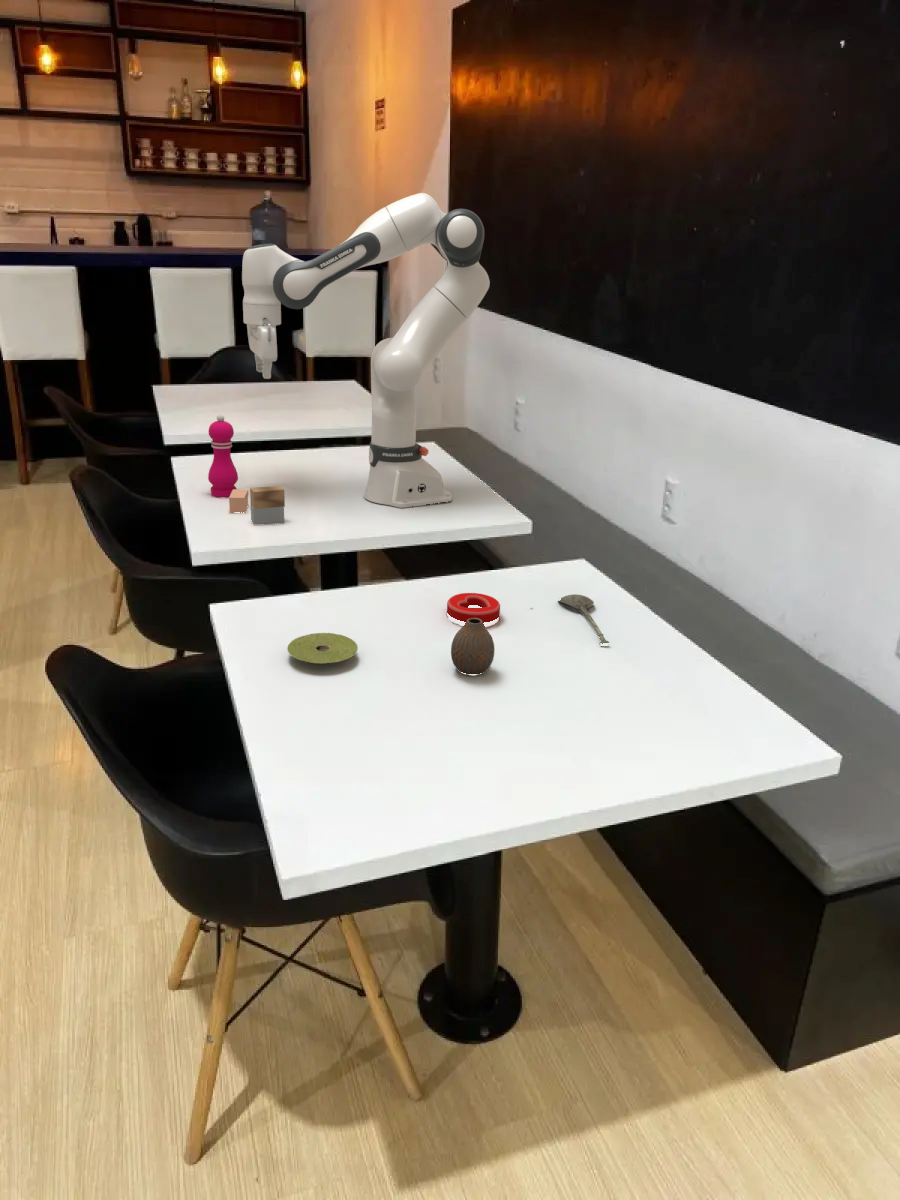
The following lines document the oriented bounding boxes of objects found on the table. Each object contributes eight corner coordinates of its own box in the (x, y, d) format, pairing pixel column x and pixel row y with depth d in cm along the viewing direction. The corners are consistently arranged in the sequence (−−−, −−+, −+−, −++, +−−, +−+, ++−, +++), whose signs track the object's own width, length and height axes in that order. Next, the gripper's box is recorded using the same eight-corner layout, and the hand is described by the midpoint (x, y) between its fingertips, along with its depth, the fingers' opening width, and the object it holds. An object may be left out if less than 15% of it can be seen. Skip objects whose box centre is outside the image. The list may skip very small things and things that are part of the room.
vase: (443, 663, 149) (446, 614, 145) (482, 658, 151) (486, 610, 148) (459, 682, 143) (462, 631, 139) (499, 677, 145) (503, 627, 142)
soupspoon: (586, 603, 179) (554, 605, 178) (587, 587, 178) (554, 588, 177) (622, 648, 158) (585, 650, 158) (623, 630, 157) (586, 632, 156)
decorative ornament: (497, 631, 162) (498, 615, 161) (443, 626, 163) (444, 609, 162) (500, 610, 171) (502, 594, 170) (449, 605, 172) (450, 589, 171)
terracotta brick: (233, 505, 222) (232, 489, 221) (248, 505, 223) (247, 489, 221) (229, 513, 216) (229, 497, 214) (244, 514, 216) (244, 497, 215)
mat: (371, 654, 150) (371, 643, 149) (329, 680, 141) (329, 669, 140) (316, 637, 155) (316, 626, 155) (273, 661, 146) (272, 650, 145)
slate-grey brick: (281, 519, 214) (280, 502, 213) (284, 523, 211) (284, 507, 210) (251, 521, 212) (250, 504, 210) (253, 525, 209) (253, 508, 207)
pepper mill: (234, 499, 226) (231, 418, 219) (205, 497, 226) (201, 416, 219) (241, 491, 233) (238, 412, 225) (213, 489, 233) (209, 411, 225)
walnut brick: (280, 502, 213) (280, 485, 211) (284, 506, 210) (284, 489, 208) (250, 504, 210) (250, 487, 208) (254, 509, 207) (254, 491, 205)
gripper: (283, 321, 211) (284, 382, 216) (268, 312, 228) (269, 368, 234) (255, 320, 208) (257, 382, 214) (242, 311, 226) (244, 368, 231)
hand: (263, 375), depth 224 cm, fingers open, 8 cm apart
